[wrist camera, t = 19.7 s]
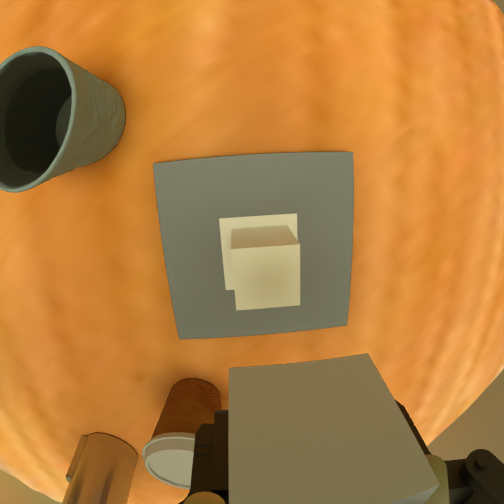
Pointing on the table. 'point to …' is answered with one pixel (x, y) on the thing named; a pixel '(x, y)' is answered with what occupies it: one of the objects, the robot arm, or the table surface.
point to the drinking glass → (53, 118)
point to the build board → (256, 215)
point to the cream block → (265, 267)
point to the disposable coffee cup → (180, 431)
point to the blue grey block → (321, 437)
